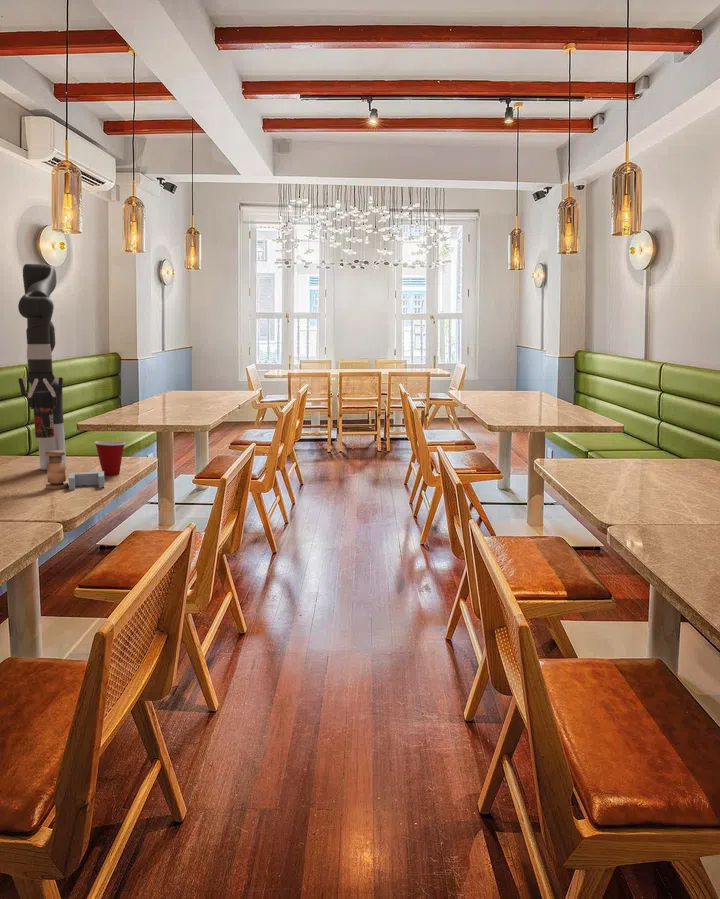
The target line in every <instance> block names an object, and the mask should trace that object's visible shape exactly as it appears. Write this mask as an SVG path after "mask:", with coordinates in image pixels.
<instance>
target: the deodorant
mask: <svg viewBox="0 0 720 899" xmlns="http://www.w3.org/2000/svg"><path fill="white" fill-rule="evenodd" d="M32 410H33V419H34V420H33V421H34V422H33V423H34V436H35V438H37V439H38V438H49V437H54V420H53V408H52V395H51V392H33V409H32Z"/></svg>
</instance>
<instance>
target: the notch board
mask: <svg viewBox="0 0 720 899" xmlns="http://www.w3.org/2000/svg"><path fill="white" fill-rule="evenodd" d="M67 480H68V491H74V490H73V489H75V490H76V487H83V486H82V485H87V486H98V489H103V488H102V487H104V485H105V484H106V483H105V475H104V471H102V470H101V471H88V472H87V471H86V472H83V471H82V472H70V473H69V474H68V479H67ZM97 484H99V485H97ZM75 486H76V487H75Z"/></svg>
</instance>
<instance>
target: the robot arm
mask: <svg viewBox="0 0 720 899" xmlns="http://www.w3.org/2000/svg"><path fill="white" fill-rule="evenodd" d="M22 280H23V288H24V294H23V295H22V296H21V297H20V299H19V301H18V305H17V308H18V312H19V314H20V316H22V317H23V318H25V319H26V321H27V322H26V324H27V328H26V331H25V332H26V344H27V345H26V346H27V347H26V358H27V359H26V360H27V373H28V374H27V376H26V377H19V378H18V384H19V388H20V393H21V396H23V397H26V398H27V401H28V407H29V408H30V410H34V409H33V392H51V395H52V408H53V420H54V437H49V438H37V439H38V440H37V441H38V458H39V468H40V470H41V471H47V462H49V456H45V452H47V451H56V450H61V451H65V455H62V461H64V462H65V467H66V468H67V455H66V454H67V453H66V442H65V440H66V439H65V423H64V412H63V411H64V408H63V403H64V402H63V401H64V399H63V384H64V383H63V382H64V377H63V376H60V377H59V376H55V375H54V372H53V371H54V370H53V355H52V353H53V351H54V349H55V347H56V329H55V326H54V324H53V322H52V321H51V320H52V317H53V313H54V309H55V308H54V302H53V300H52V299H51V298H50V296H51V294H52V293H53V292H54V290H55V289H56V286H57V272H56V268H55V267H54V266H53V265H50V264H45V263H40V264H39V263H25V264H24V265H23V267H22ZM27 381H28V383H30V389H29V392H27V391H26V386H25V385H26V383H27Z"/></svg>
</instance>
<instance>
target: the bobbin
mask: <svg viewBox="0 0 720 899" xmlns="http://www.w3.org/2000/svg"><path fill="white" fill-rule="evenodd" d="M65 452H66V450H65V451H61V450H56V451H47V452H45V456H49V462H47V470H46V473H47V483H46V484H45V489H46V488H47V489H46V490H53V489H54V490H62V489H61V488H64V489H66V488H65V487H67V488H69V482H66V479H67V477H66V468H65V462H64V461H62V455H65Z"/></svg>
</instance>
